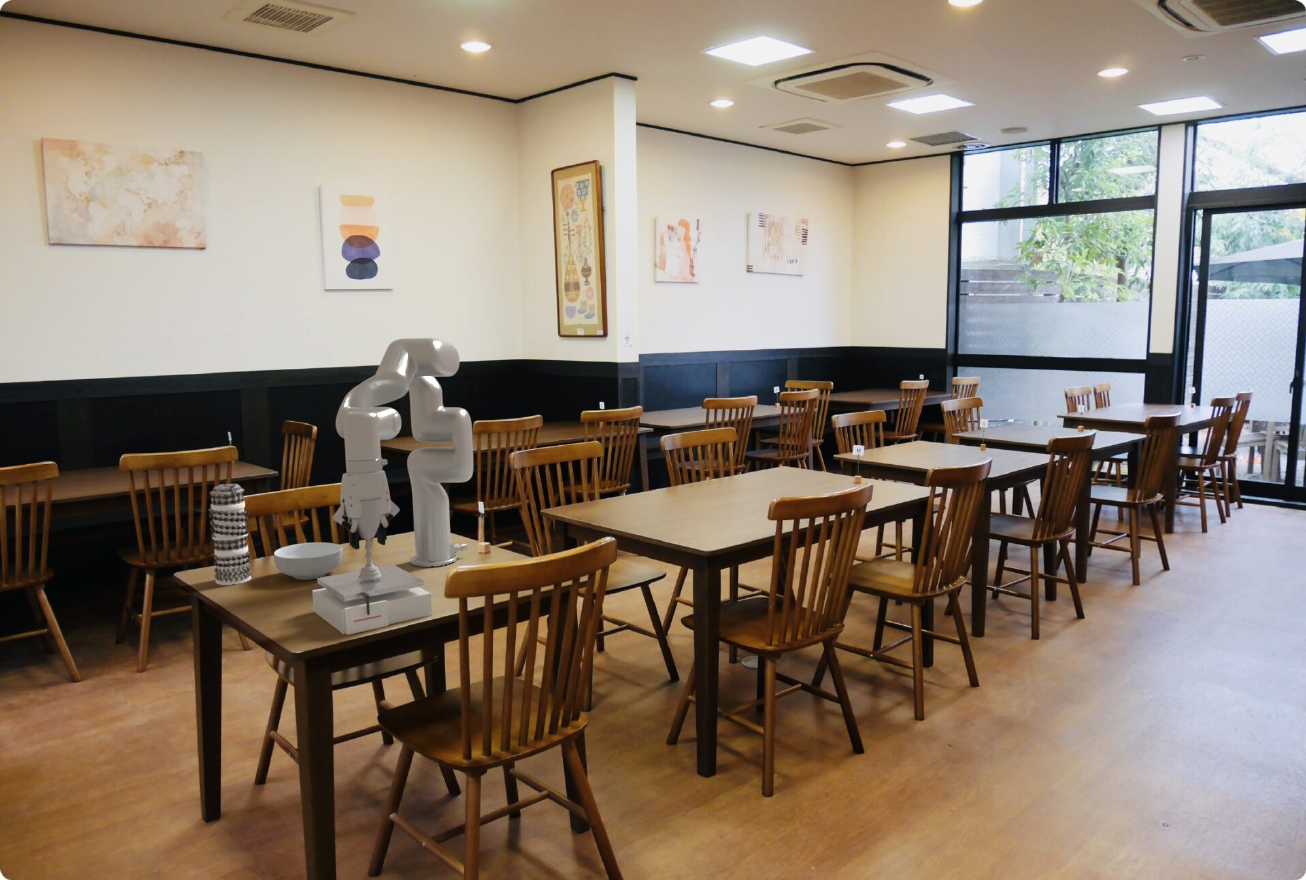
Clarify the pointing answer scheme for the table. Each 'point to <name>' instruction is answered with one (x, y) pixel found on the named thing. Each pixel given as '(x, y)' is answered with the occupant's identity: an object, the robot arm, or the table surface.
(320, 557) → the cereal bowl
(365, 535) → the chalice
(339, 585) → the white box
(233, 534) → the decorative candle
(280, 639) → the table surface
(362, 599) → the base
